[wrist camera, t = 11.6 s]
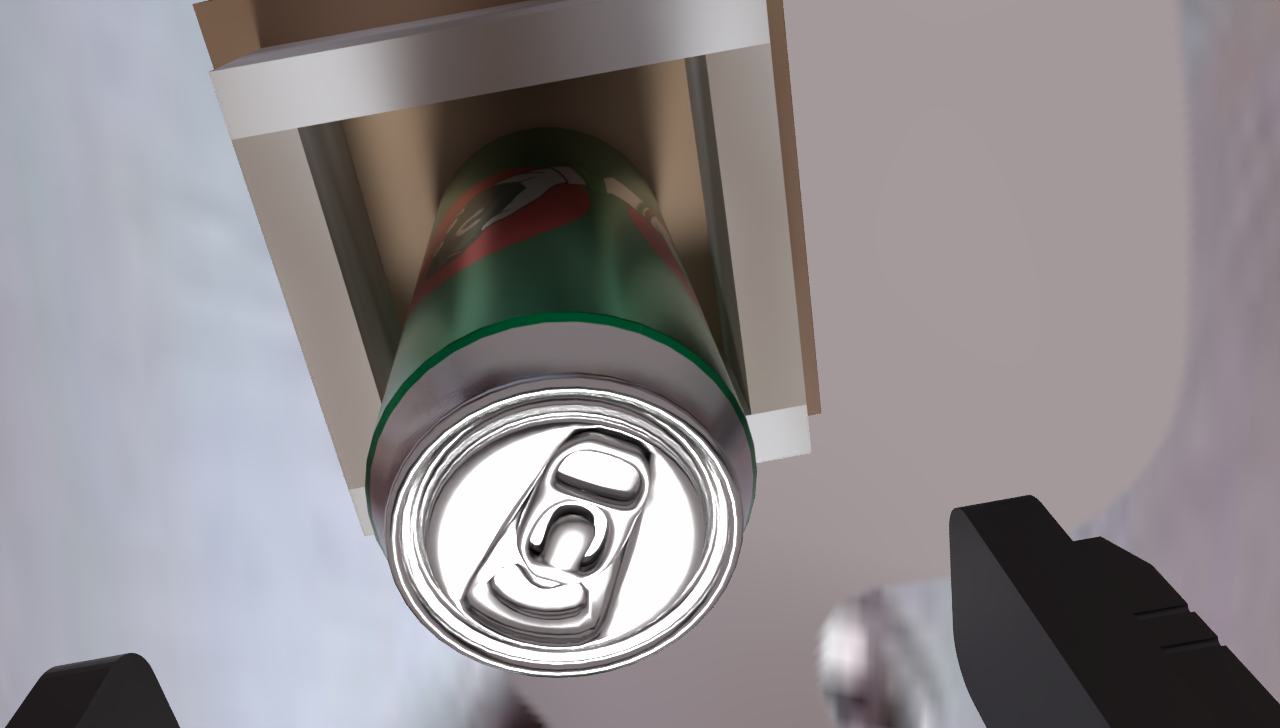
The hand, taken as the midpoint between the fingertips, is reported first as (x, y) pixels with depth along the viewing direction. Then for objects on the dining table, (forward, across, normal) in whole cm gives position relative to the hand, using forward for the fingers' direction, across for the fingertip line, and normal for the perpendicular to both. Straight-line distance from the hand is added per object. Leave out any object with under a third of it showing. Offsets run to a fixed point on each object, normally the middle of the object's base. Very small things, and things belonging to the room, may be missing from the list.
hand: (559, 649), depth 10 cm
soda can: (+14, 0, 0) cm, 14 cm away
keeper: (+15, 0, 0) cm, 15 cm away
